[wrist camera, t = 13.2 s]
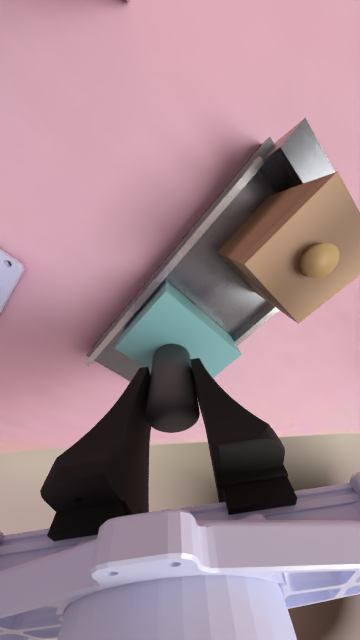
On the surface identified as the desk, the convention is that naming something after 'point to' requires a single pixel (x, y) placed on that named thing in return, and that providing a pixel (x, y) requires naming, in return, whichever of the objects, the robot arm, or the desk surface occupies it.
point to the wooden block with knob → (299, 246)
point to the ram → (174, 355)
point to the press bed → (208, 237)
